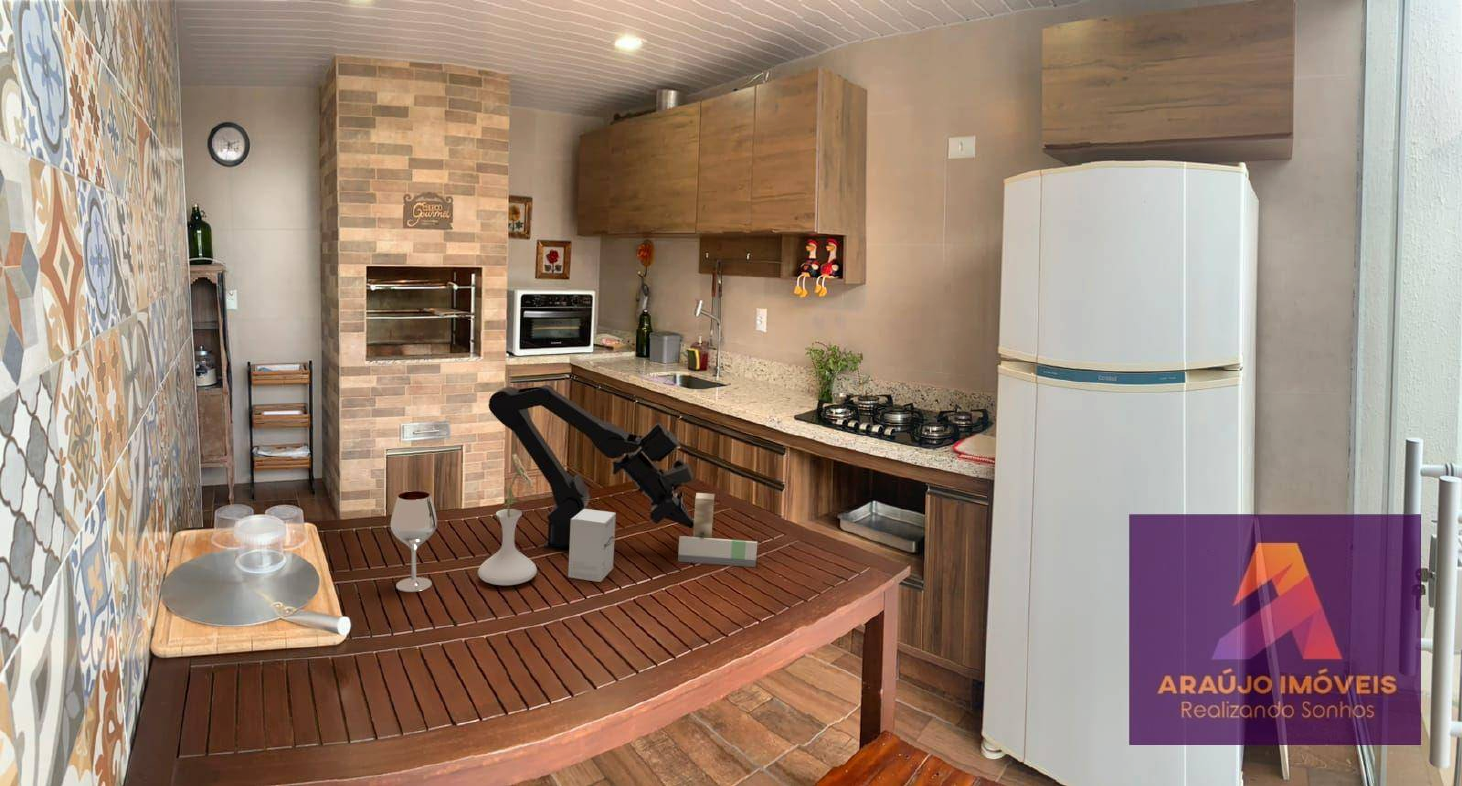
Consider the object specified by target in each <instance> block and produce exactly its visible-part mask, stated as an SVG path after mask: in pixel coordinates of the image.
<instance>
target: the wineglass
mask: <svg viewBox="0 0 1462 786" xmlns="http://www.w3.org/2000/svg"><path fill="white" fill-rule="evenodd" d="M436 513H437V512H436V509H435V506H434V503H433V499H432V495H431V493H430V492H427V491H423V490H409V491H404V492H401V493H399V494H398V495H397V497H396V501H395V503H394V507H393V510H392V515H391V519H390V528H391V532H392V534H393V535H394V536H395V537H396V538H397V540H399V541H400V542H402V544H403V543H404V545H405V546H407V547H408V548H409V549H410V550H411V576H410V577H408V578H405V579H401V580H399V581H398V582H397V583H396V585H395V587H396V589H397V590H398V591H400V592H405V593H416V592H422V591H425V590H427V589H429V588H431V586H432V585H433V584H432V583H433V582H432V580H430V579H429V578H426V577H420V576H419V577H417V550H418V548H419V547H420V546H421V545H422V544H423V543H425V541H427V540H428V539H429V538H431V536H432V535H433V534H434V532H435V531H436V529H437V525H438V520H437V519H438V518H437V514H436Z"/></svg>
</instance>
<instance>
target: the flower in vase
mask: <svg viewBox="0 0 1462 786" xmlns="http://www.w3.org/2000/svg"><path fill="white" fill-rule="evenodd" d="M512 459H513V461H514V464H515V466H516V468H517V470H516V474H515V475H514V478H513V479H512V480H511V483H510V485H509V488H508V489H507V491H508V493H507V503H505V504H503V506H506V507H507V508H504V509H500V510H498V511H496V512H495V516H497V518H498V519H499V521H500V525H501V529H502V530H501V531H502V543H501V547H500V549H499V550H497V552H496V553H494V554H493V555H492V556H490V557H489V558H487V559H486V560H485V561H484V562H483V563H482V564H480V566H479V567H478V571H477V575H478V577H479V578H480V579H481V580H482V581H484V582H485V583H488V584H492V585H496V586H514V585H519V584H523V583H526V582H528V581H530V580H532V579H533V578H534V577H535V576H536V574H537V573H538V572H537V571H538V569H537V568H538V567H537V566H536V564H535V563H534V561H532V560H531V559H530V558H529V557H528V556H525V555H524V554H523V553H522V552H520V551H519V550H518V549H517V547H516V546H515V545H516V544H515V532H516V526H517V523H518V522H519V519H520V517H521V516H522V515H523V512H522V511H521V510H520V509H515V508H510V505H513V504H514V503H516V502H517V500H515V495H514V494H513V491H512V487H513V485H514V484H515V481H516V479H517V477H522V479H523V481H524V482H525V483H526V484H527V487H529V488H530V489H532V488H535V486H534V484H533V481H532V480H531V478H530V477H529V476H528V472H527V470H526V469H525V468H524V467H523V465H522V462H521V460H520V458H519V457H518V455H517V453H513V454H512Z"/></svg>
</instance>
